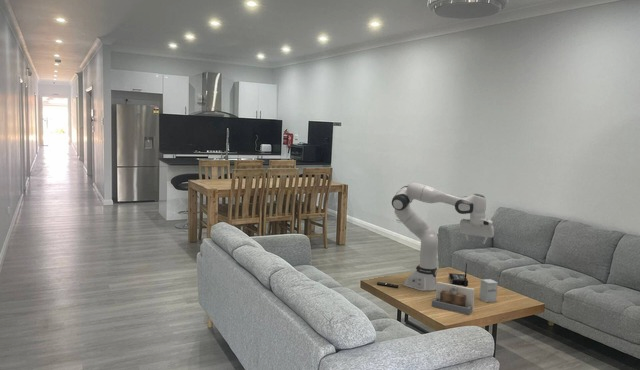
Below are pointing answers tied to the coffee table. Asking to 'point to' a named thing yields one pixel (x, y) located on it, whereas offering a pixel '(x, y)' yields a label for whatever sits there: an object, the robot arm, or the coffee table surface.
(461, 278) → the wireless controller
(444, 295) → the walnut panel
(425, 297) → the coffee table surface
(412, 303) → the coffee table surface
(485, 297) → the supplement box
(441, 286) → the board
